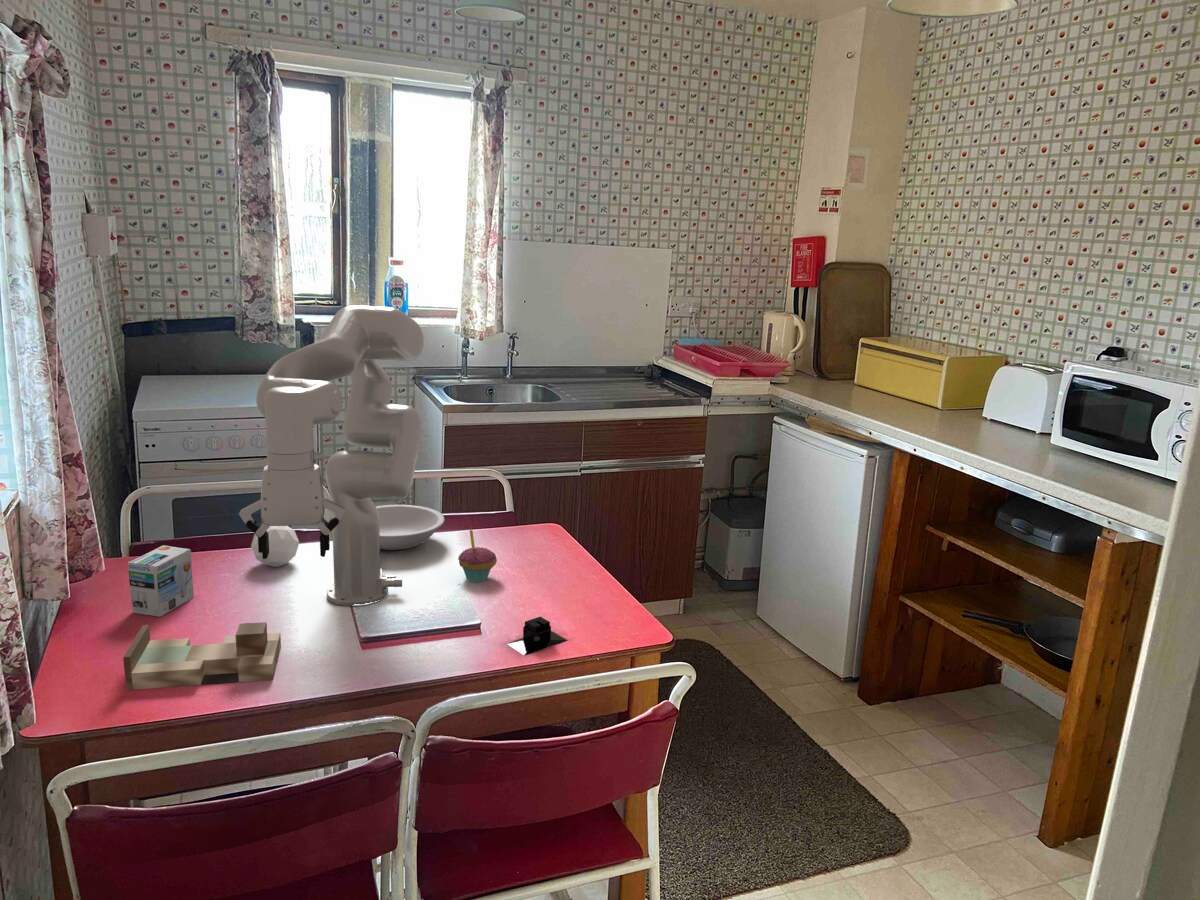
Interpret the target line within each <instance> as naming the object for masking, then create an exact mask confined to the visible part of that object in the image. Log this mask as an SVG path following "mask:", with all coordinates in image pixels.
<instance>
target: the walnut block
mask: <svg viewBox="0 0 1200 900" xmlns="http://www.w3.org/2000/svg"><path fill="white" fill-rule="evenodd" d="M267 625H268V623H267V622H266V621H265V622H263V621H262V622H246V623H243V622H242V623H239V625H238V627H237V630H236V633H235V635H236V651H237V656H246V655H261V654H264V653H265V650H266V647H267V643H268V640H267V633H268V626H267Z"/></svg>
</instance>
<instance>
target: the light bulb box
mask: <svg viewBox="0 0 1200 900" xmlns="http://www.w3.org/2000/svg"><path fill="white" fill-rule="evenodd" d="M192 566H193V565H192V550H191V548H183V547H177V546H170V545H161V546H159V547H157V548H155V549H153V550H151V551H149V552H147V553H145V554H143V555H141V556H139V557H137V558H135V559H132V560H130V561H128V562H127V569H128V581H129V591H130V601H131V602H130V603H131V612H132V613H133V614H139V615H147V616H153V617H158V618H159V617H162V616H164V615H166V614H168V613H170V612H171V611H172V610H175V609H176V608H177V607H180V606H182V605H183V604H184V603H187V602H188V601H190V600H192V599H193V598H194V595H195V594H194V583H193V582H194V581H193V579H194V578H193V568H192Z"/></svg>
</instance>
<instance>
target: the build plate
mask: <svg viewBox="0 0 1200 900" xmlns="http://www.w3.org/2000/svg"><path fill="white" fill-rule="evenodd" d="M522 627H523V628H522V637H521V638H519V639H516V640H513V641H510V642H507V643H506V645H508V646H509V647H511V648H512V649H514V650H515V651H517V652H518V653H520V654H521V655H523V656H525V657H526V656H529V655H531V654H535V653H537V652H539V651H543V650H545V649H548V648H551V647H554V646H557V645H560V644H563V643H566V642H568V641H569V640H568V639H567V638H565V637H562V636H561V635H559V634H557V633H556V632H554V631H552V626H551V621H549V620H547V619H545V618H543V617H542V616H538V617H534V618H532V619H528V620H525V621H524V625H523V626H522Z"/></svg>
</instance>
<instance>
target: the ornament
mask: <svg viewBox="0 0 1200 900" xmlns="http://www.w3.org/2000/svg"><path fill="white" fill-rule="evenodd" d="M267 533H268V535H269V555H268V557H267V558H266V559H263V558H262V553H259V550H258V537H257V536H256V535H255V534H253V538H252V542H251V545H250V547H251V550H252V552H253V555H254V557H255V559H256V560H257V561H259V562H260V563H262V564H263V565H265V566H267V567H274V568H277V567H281V566H283V565H285V564H287V563H289V562H290V561H291V560H292V559H293V558H295V557H296V554H297V551H298V548H299V545H300V541H299V538H298V535H297V533H296V531H295V530H294V529H293V528H291V526H270V527H269V528H268V529H267Z"/></svg>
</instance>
